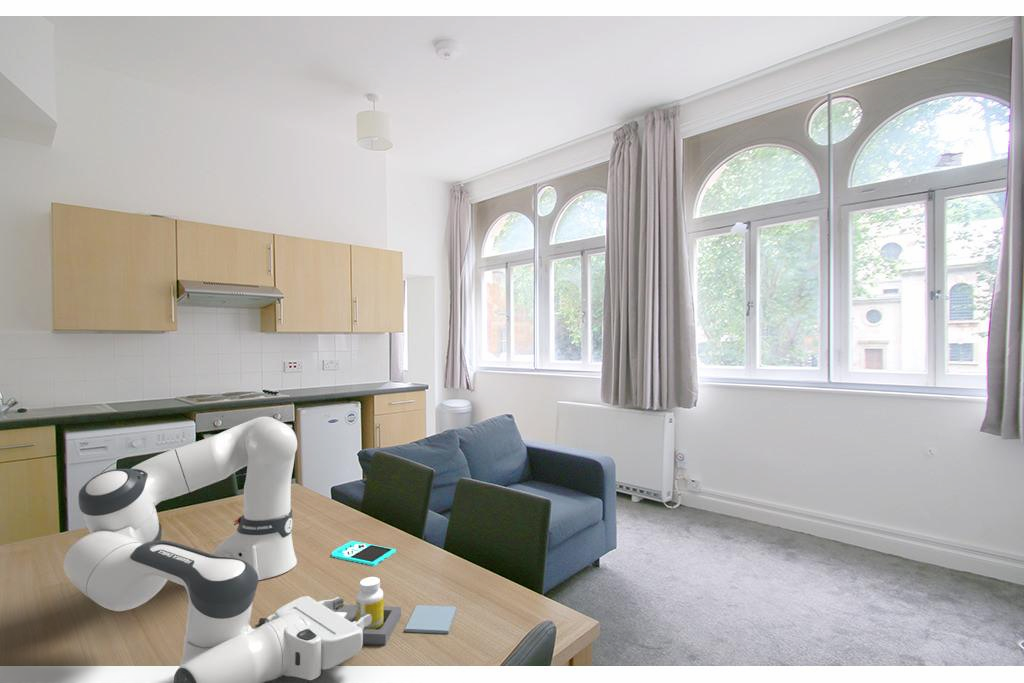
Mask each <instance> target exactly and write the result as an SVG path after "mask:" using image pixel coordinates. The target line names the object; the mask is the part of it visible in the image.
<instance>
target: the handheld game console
mask: <svg viewBox="0 0 1024 683" xmlns="http://www.w3.org/2000/svg"><path fill="white" fill-rule="evenodd" d="M396 552H397V551H396V548H391V547H385V546H381V545H380V546H379V545H377V544H376V545H375V544H369V543H366V542H359V541H354V540H350V541H349V542H347V543H345V544H343V545H342V546H339V547H337V548H336V549H334V550H333V551H332V552H331V558H333V557H335V558H334V559H338V558H339V559H338V560H342V561H343V560H344V561H347V560H348V562H352V561H353V563H357V562H358V563H357V564H361V563H363V564H362V565H366V564H367V566H372V567H375V566H377V565H379V564H380V563H382V562H383V561H384V560H386V559H387V558H389V557H391V556H392V555H394V554H395V553H396ZM393 553H394V554H393ZM390 555H391V556H390Z"/></svg>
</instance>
